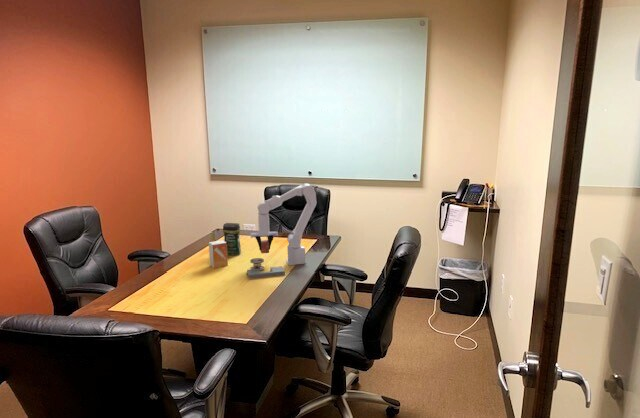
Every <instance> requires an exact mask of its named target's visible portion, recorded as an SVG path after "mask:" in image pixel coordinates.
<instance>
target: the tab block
mask: <svg viewBox="0 0 640 418" xmlns="http://www.w3.org/2000/svg"><path fill="white" fill-rule="evenodd" d="M260 253H261V254H269V253H270V250H269V242H268V239H265V240H261V250H260Z"/></svg>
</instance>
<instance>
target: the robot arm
mask: <svg viewBox="0 0 640 418" xmlns="http://www.w3.org/2000/svg"><path fill="white" fill-rule="evenodd" d="M316 194H317V193H316V190H315V188H314V187H313V186H312V185H311V184H310V183H307V182H305V183H302V184H301V185H298V186H295V187H294V188H292V189H290V190H288V191H287V192H285V193H283V194H281V195H272V196H271V198H269V199H267V200H266V199H265V200H264V201H263V202H259V203H258V204H257V205H258V206H257V211H258V213H257V214H258V217H257V222H258V224H257V225H258V231H257V232H253V233H252V232H251V233H250V238H251V239H253V238H255V239H256V241H257V244H258V247H259V251H261V241H262V238H263V237H267V240H268V242H269V251H270V250H271V245H272V242H273V240H274V237H275V236H276V237H279V233H278V231H270V230H271V229H270V216H269V212H270V211H272V210H274V209H276V208H278V207H280V206H282V204H283V203H284V202H285V201H287V200H289V199H292V198H294V197H296V196H297V197H303V196H304V199H305V201H306V204H305V206H304V208H303V210H302V212H301V214H300V216H299V219H298V220H297V223H296V225H295V227H294V229H292V231H291V233H290V234H288V236H287V241H288V245H287V259H286V260H285V261H286V263H287V265H289V266H292V265H293V266H294V265H303V264H304V265H305V264H306V263H307V262H306V248H305V246H303V245H301V244H302V243H301V241H302V239H303V233H304V231H305V229H306V227H307V225H308V222H309V221H310V218H311V216H312V214H313V212H314V210H315V208H316V206H317V203H318V201H317V195H316ZM261 237H262V238H261Z"/></svg>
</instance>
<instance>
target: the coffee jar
mask: <svg viewBox="0 0 640 418" xmlns="http://www.w3.org/2000/svg"><path fill="white" fill-rule="evenodd" d="M240 231H241V227H240V223H236V222H226V223H224V224H223V226H222V232H223V236H224V240H223V241H225V242H226V243H227V256H238V255H241V254H242V247H241V242H240V241H241V240H240V239H241V238H240Z"/></svg>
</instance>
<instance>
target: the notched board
mask: <svg viewBox="0 0 640 418" xmlns="http://www.w3.org/2000/svg"><path fill="white" fill-rule="evenodd" d="M246 275H247V277H248V280H251V279H261V278H269V277H280V276H285V275H286V270H285V269H284V267H283V266H282V265H281V266H270V271H263V272H262V271H260V270H259V269H251V268H250V269H247V270H246Z"/></svg>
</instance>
